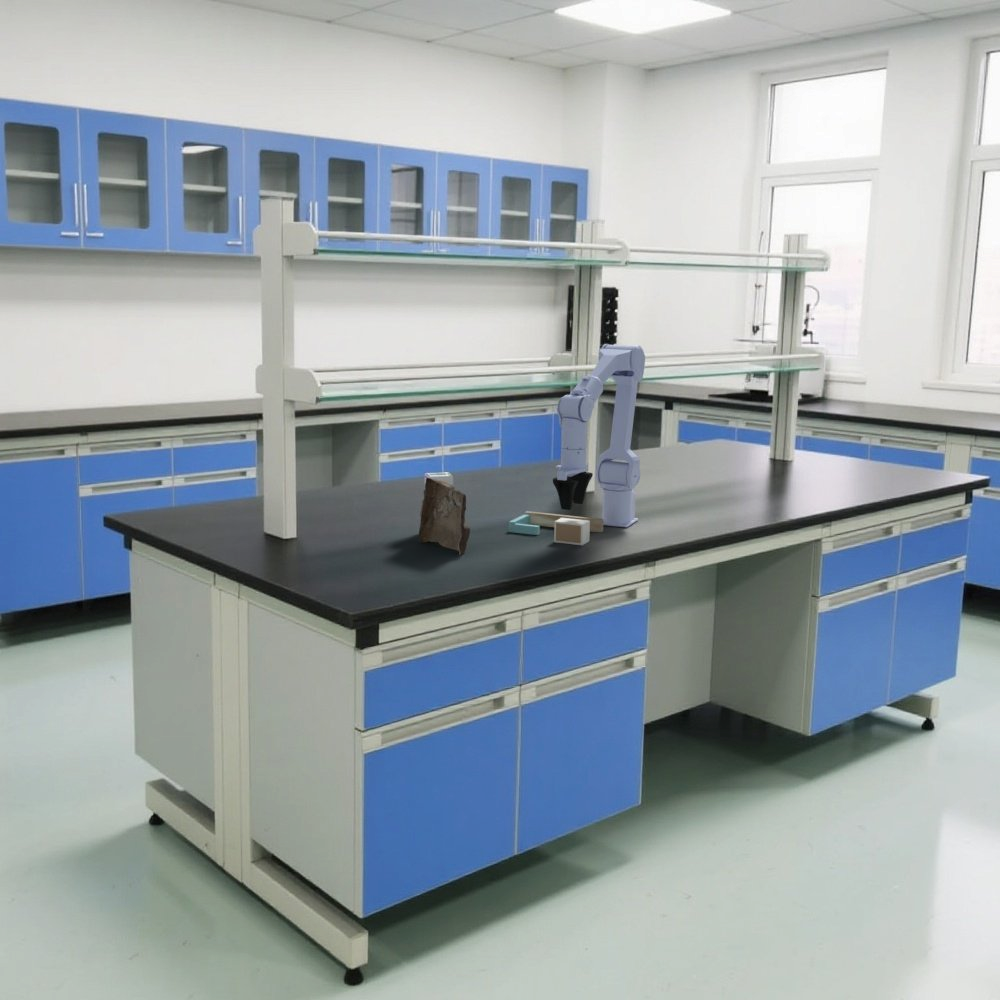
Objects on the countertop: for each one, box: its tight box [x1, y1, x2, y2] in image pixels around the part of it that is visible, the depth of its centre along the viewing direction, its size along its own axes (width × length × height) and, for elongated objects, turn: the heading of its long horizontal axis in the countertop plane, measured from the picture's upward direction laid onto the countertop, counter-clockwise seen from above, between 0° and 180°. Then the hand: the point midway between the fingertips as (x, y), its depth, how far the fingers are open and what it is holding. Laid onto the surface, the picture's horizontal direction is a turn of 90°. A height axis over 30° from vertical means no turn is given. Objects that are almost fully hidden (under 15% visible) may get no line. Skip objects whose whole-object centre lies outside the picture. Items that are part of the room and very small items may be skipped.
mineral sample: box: [418, 478, 471, 556], centre depth 247 cm, size 17×4×15 cm, turn 37°
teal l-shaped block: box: [508, 513, 541, 536], centre depth 268 cm, size 10×8×2 cm
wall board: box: [524, 510, 604, 533], centre depth 270 cm, size 1×20×3 cm, turn 65°
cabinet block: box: [553, 518, 591, 546], centre depth 256 cm, size 5×7×5 cm
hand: (572, 506), depth 254 cm, fingers open, 7 cm apart
